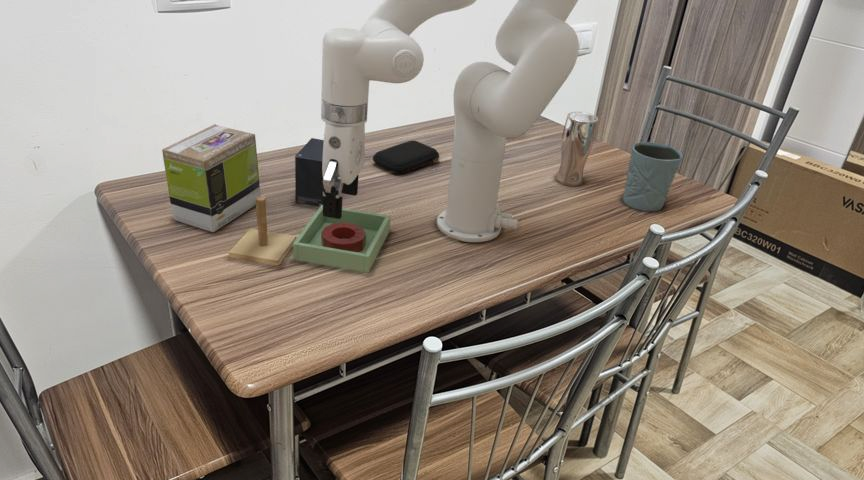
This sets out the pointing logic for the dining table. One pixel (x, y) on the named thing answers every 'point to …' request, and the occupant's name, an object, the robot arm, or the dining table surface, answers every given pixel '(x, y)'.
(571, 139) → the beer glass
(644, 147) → the grey-green embossed cup
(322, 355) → the dining table surface
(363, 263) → the bin
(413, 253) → the dining table surface
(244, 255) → the peg stand
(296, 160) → the small box
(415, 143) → the carrying case
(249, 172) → the tea box
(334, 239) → the ring
